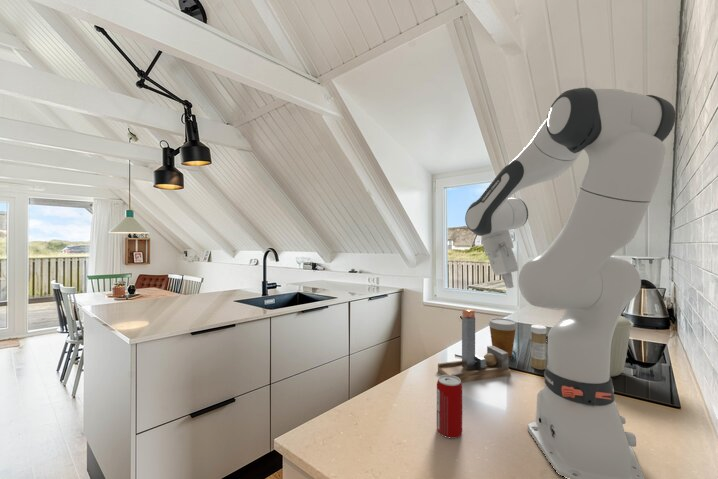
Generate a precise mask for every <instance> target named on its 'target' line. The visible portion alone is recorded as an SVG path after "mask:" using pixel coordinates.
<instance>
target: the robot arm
mask: <svg viewBox="0 0 718 479" xmlns="http://www.w3.org/2000/svg"><path fill="white" fill-rule="evenodd" d="M675 110H676V109H675V107H674V106H673V104H672V103H671V102H670V101H668V100H667V99H665V98H663V97H661V96H660V97H659V96H657V95H653V94H647V95H644V94H641V93H636V92H631V91H625V90H623V89H615V88H614V89H613V88H590V87H578V88H572V89H569V90H565V91H563V92H562V93H560V95H558V96H557V97H556V99H555V100H554V101H553V103H552V104H551V106H550V107H549V110H548V111H547V112H548V113H547V115H546V119H545V120H544V122H543V123H542V124H541V125H540V127H539V129H538V130H537V131H536V133H535V135H533V138H532V139H531V140H530V141H529V143H528V144H527V145H526V147H524V148H523V150H522V151H521V152H520V153H519V154H518V155H516V157H515V158H514V159H512V161H510V162H509V163H508V164H506V165H505V166H504V167H503V168H502V169H501V171H500V172H499V173H498V174H497V175H496V177H495V178H494V179H493V180H492V182H491V183H490V184H489V185H488V187H486V189H485V191H484V192H483V193H482V194H481V195H480V197H479V198H478V199H477V200H475V201H473V202H472V203H471V204H470V205H469V207H468V208H467V210H466V213H465V218H464V221H465V225H466V228H468V230H470V231H471V232H472V233H473V234H475V235H476V236H479V237H481V238H480V239H481V243H482V248H483V251H484V254H485V256H487V258H488V261H489V263H490V267H491V270H492V273H494V276H496V277H498V276H500V275H501V279H502V281H503V283H504V285H505V288H506V289H513V288H515V287H514V282H513V275H512V273H516V272H518V271H519V265H518V262H517V259H516V256H515V252H514V251H513V249H514V248H515V247H514V243H513V240H512V236H511V233H510V231H509V230H515V229H519V228H521V227H524V225H526V223H527V221H528V220H529V209H528V206H527V204H526V202H524V200H522V199H521V198H519V197H512V196H513V195H514V194H515V193H517V192H519V191H521V190H523V189H526V188H529V187H531V186H533V185H538V184H540V183H544V182H547V181H550V180H551V181H552V180H553V179H556V178H558V177H559V176H561V175H562V174H563V173H565V172H566V171H567V170H568V169H570V168H571V167H572V165H573V164H575V162H576V160H577V159H578V158H579V157H580V155H581V154H582V153H583V151H585V153H586V154H587V156H588V166H587V170H586V172H585V174H584V177H583V179H582V181H581V185H580V187H579V189H578V193H577V195H576V198H575V200H574V203H573V205H572V208H571V211H570V213H569V216H568V218H567V221H566V222H565V224H564V226H563V227H562V229H561V231H560V232H559V233H558V234H557V235H556V237H555V238H554V240H553V241H552V242H551V243H550V244H549V245H548V246H547V247H546V248H545V250H543V251H542V252H541V253H540V254H539V255H537V256H536V257H534V258H533V259H531V260H529V261H527V262H526V263H525V264H523V266H522V268H520V269H521V270H520V272H519V275H518V280H517V281H518V287H519V291H520V293H521V295H522V297H523V298H524V299H525V301H526V302H527V303H529V304H530V305H532V306H534V307H536V308H537V307H538V308H541V309H542V308H543V309H550V310H557V311H558V310H559V311H560V310H564V313H563V315H562V316H561V318H560V319H559V320H558V321H557V322H556V323H555V324H554V325H553V326H552V327H551V328H550V329H549V331H548V332H547V364H546V367H545V369H544V383H545V385H544V387H543V388H542V389H541V390H540V391H538V392H537V394H536V410H535V421H532V422H529V423H528V424H527V431H528V432H529V434H530V436H531V435H532V436H531V437H532V438H534V439H533V440H534V442H535V441H536V442H535V444H538V445H537V446H538V448H539V447H540V448H541V449H540V448H539V449H540V451H541V450H542V451H543V452H542V451H541V452H542V453H544V454H545V455H544V454H543V455H544V456H546V457H545V458H546V460H547V459H548V460H547V462H548V463H549V462H550V463H551V465H552V466H553V467H554V469H555V470H556V471H557V473H559V474H561V475H562V476H565V477H567V478H570V479H645V476H644V473H643V471H642V469H641V466H640V464H639V461H638V459H637V456H636V455H635V452H634V449H633V448H635V447H637V438H636V434H635V433H633V432H630V431H625V429H624V428H625V427H624V425H625V424H626V417H625V416H623V415H620V412H619V409H618V406H617V405H618V403H617V402H616V401H615V394H614V393H615V389H614V385H613V379H612V377H610V352H611V341H612V337H613V333H614V330H615V327H616V325H617V322H618V320H619V318H620V316H622V313H623V312H624V310H625V308H626V307H627V306H628V305H629V303H630V302H631V301H632V300H634V298H636V296H637V295H638V294H639V293H640V290H641V287H642V278H641V275H640V273H639V271H638V269H637V268H636V267H635V266H634V264H632V263H631V262H629V261H627V260H625V259H622V258H618V257H615V256H614V257H613V255H614V254H615V253H616V252H618V251H619V250H620V249H622V248H624V247H626V246H627V245H628V244H629V243H631V242H632V241H633V239H634V238H635V236H636V234H637V232H638V230H639V227H640V225H641V223H642V221H643V219H644V216H645V214H646V212H647V209H648V208H649V206H650V203H651V202H652V198H653V196H654V194H655V193H656V188H657V187H658V184H659V181H660V177H661V173H662V169H663V165H664V162H665V155H666V146H665V144H664V141H665V140H666V139H667V137H668V136H669V135H670V133H671V132H672V130H673V128H674V125H675V122H676V111H675ZM550 463H549V464H550ZM551 465H550V466H551ZM552 466H551V467H552ZM554 469H553V470H554ZM557 473H556V474H557ZM562 476H561V477H562Z"/></svg>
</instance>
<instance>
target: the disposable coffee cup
mask: <svg viewBox="0 0 718 479" xmlns="http://www.w3.org/2000/svg"><path fill="white" fill-rule="evenodd" d="M488 327H489V332H490V338H491V339H490V340H491V346H495V347H497V348H499V349H501V350H503V351H505V352H507V353H508V358H511V357H512V356H513V350H514V343H515V336H516V329H517V328H518V325H517V323H516V321H515V320H512V319H509V318H502V317H501V318H500V317H496V318H490V319H489V322H488Z"/></svg>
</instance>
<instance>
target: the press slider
mask: <svg viewBox="0 0 718 479" xmlns="http://www.w3.org/2000/svg"><path fill="white" fill-rule="evenodd" d="M461 361H462V367H463V368H464V369H466V370H474V369H475V368H476V369H478V370H483V369H486V359H485V358H484V356H481V355H479V354H478V353H476V311H475V309H468V308H467V309H466V308H464V309H462V316H461Z"/></svg>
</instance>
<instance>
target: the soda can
mask: <svg viewBox="0 0 718 479" xmlns="http://www.w3.org/2000/svg"><path fill="white" fill-rule="evenodd" d="M436 432H437V433H438V434H439V433H440V434H441V435H443V436H446V437H450V438H455V439H457V438H456V437H458V438H459V437H461V436H462V435H463V385H462V382H461V380H460V379H459V378H458V377H456V376H453V375H442V374H441V375H439V376H438V377H437V382H436ZM440 434H439V435H440ZM441 435H440V436H441ZM443 436H442V437H443Z"/></svg>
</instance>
